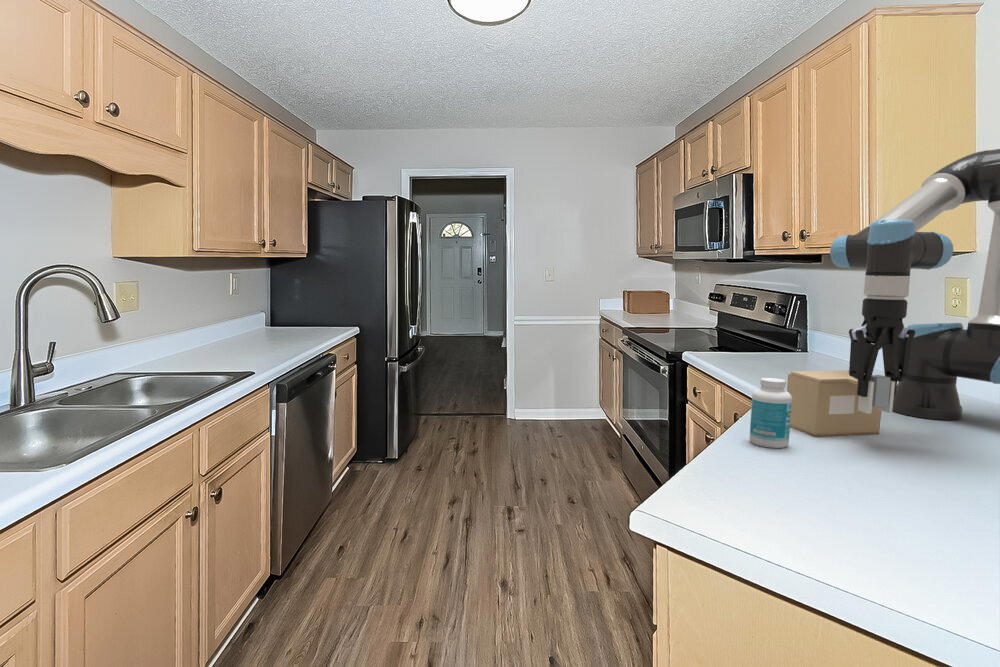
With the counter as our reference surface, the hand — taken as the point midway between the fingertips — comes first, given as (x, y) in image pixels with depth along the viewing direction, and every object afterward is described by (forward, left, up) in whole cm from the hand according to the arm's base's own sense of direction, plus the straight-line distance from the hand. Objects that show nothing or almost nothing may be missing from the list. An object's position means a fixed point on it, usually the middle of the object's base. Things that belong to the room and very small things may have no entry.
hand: (874, 411), depth 119 cm
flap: (0, -7, +1) cm, 7 cm away
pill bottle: (+21, -4, -7) cm, 23 cm away
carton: (0, -12, -7) cm, 14 cm away
